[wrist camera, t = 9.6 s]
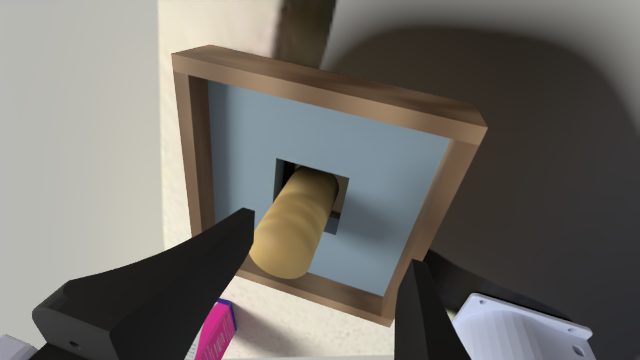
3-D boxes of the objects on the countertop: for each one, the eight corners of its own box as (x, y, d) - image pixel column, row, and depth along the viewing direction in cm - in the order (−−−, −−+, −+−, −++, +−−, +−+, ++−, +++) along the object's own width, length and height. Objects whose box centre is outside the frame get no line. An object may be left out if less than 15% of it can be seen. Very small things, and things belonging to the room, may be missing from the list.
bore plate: (452, 115, 19) (455, 127, 18) (385, 278, 28) (383, 296, 26) (223, 62, 22) (206, 68, 20) (227, 228, 30) (216, 242, 29)
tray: (475, 104, 19) (487, 127, 15) (392, 289, 28) (389, 327, 25) (209, 44, 21) (171, 53, 18) (218, 233, 31) (194, 261, 28)
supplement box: (199, 319, 41) (134, 416, 31) (190, 290, 38) (115, 388, 28) (238, 330, 40) (183, 434, 30) (232, 301, 37) (168, 407, 27)
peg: (342, 171, 23) (314, 241, 17) (333, 210, 26) (305, 286, 19) (294, 158, 24) (248, 221, 17) (289, 197, 26) (247, 267, 20)
